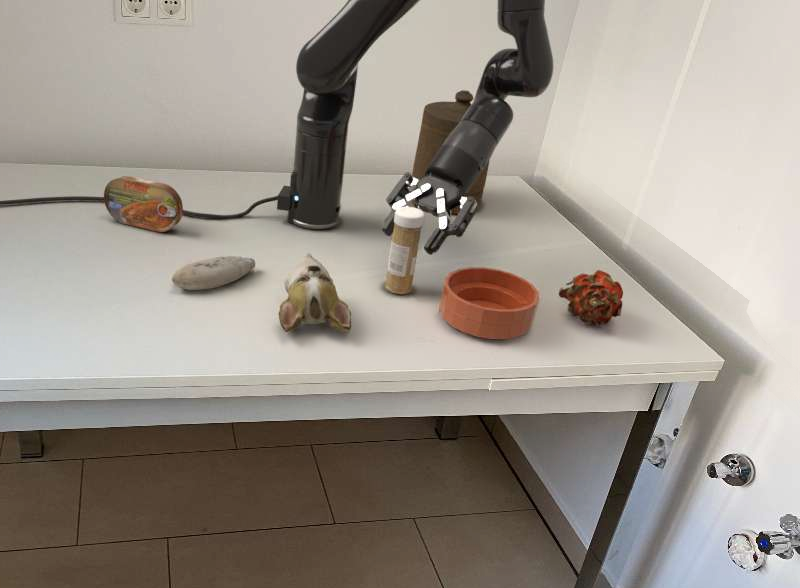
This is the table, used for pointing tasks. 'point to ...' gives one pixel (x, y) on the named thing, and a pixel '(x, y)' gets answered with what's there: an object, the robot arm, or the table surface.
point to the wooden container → (444, 139)
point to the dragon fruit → (594, 297)
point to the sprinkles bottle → (404, 249)
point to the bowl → (488, 302)
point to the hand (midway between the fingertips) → (406, 242)
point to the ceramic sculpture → (312, 298)
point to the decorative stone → (212, 272)
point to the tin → (143, 203)
